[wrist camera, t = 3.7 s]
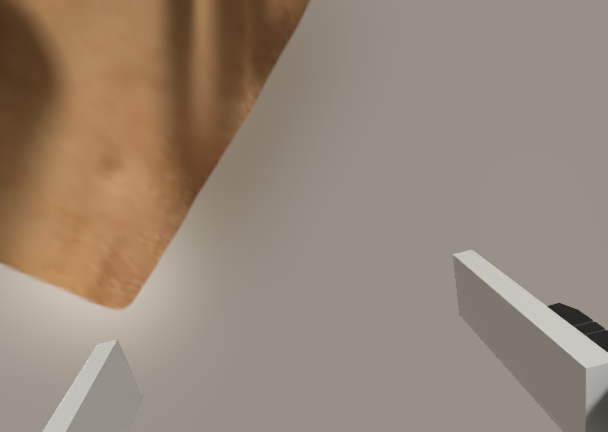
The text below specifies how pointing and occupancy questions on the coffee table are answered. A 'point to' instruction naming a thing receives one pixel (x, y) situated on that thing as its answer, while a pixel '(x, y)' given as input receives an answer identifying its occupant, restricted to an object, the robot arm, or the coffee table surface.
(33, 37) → the coffee table surface
